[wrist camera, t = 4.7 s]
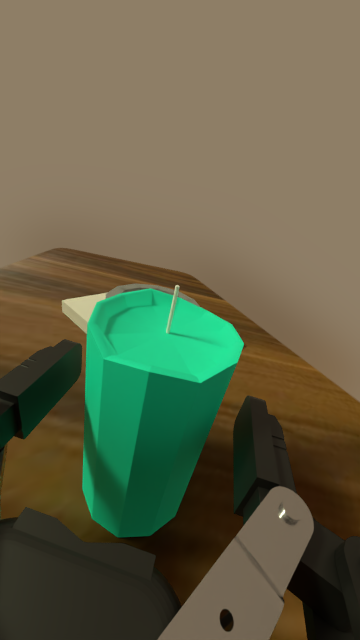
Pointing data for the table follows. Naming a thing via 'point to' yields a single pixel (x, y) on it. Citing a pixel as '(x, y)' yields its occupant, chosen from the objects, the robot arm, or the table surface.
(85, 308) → the jig plate
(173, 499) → the candle
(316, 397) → the table surface
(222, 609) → the robot arm
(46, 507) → the table surface
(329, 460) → the table surface
